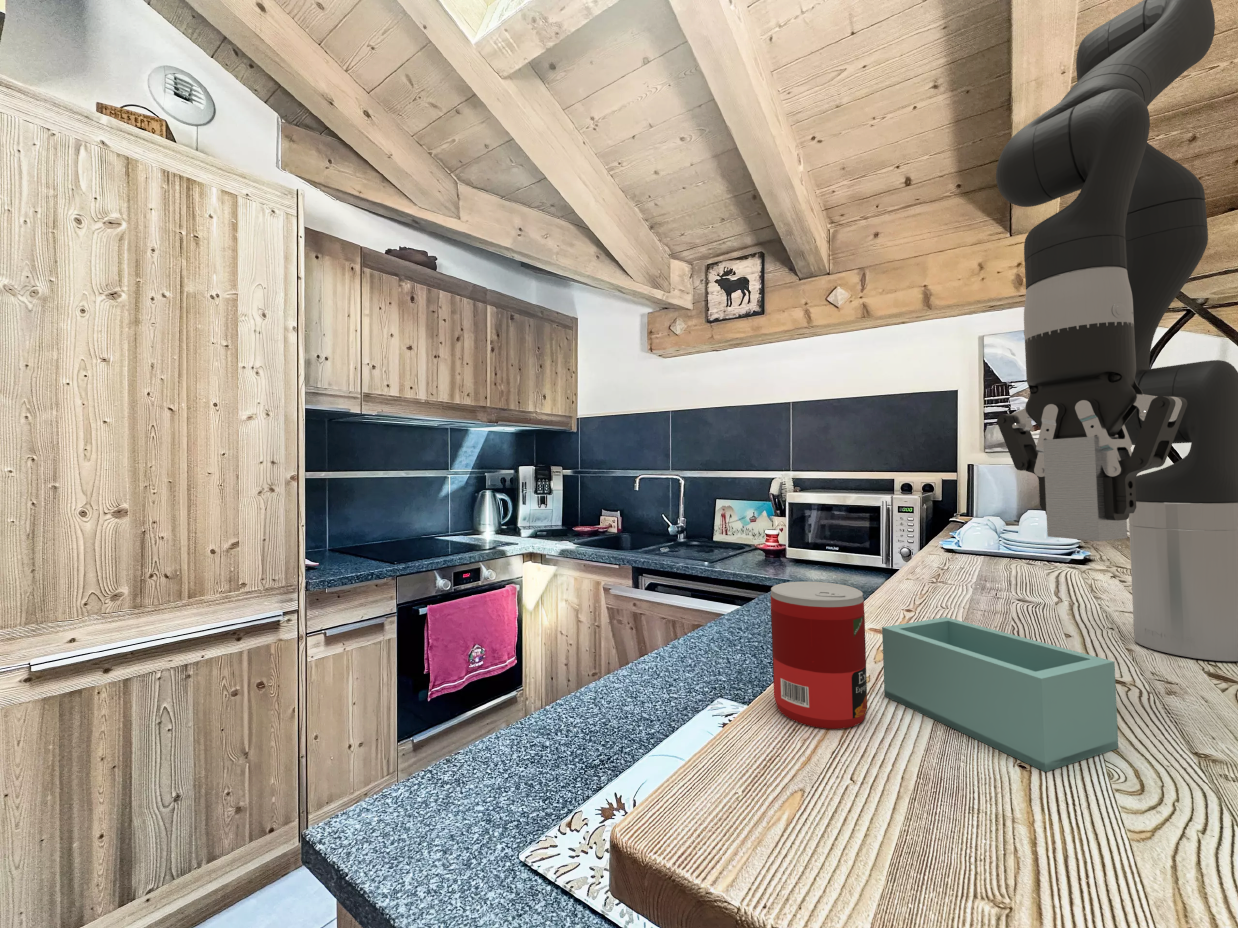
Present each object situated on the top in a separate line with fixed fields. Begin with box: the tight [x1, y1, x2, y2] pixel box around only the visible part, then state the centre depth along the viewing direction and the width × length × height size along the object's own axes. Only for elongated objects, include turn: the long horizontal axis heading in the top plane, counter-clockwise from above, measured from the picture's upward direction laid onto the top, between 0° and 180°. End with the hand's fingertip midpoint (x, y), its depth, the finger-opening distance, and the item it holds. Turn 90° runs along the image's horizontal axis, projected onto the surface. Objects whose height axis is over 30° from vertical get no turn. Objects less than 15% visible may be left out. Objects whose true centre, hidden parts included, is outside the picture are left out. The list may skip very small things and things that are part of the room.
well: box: [881, 616, 1119, 773], centre depth 45 cm, size 8×14×7 cm, turn 20°
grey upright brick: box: [1043, 436, 1128, 542], centre depth 48 cm, size 4×4×9 cm
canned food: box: [770, 581, 868, 730], centre depth 48 cm, size 8×8×11 cm
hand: (1085, 517), depth 48 cm, fingers closed on grey upright brick, 4 cm apart
